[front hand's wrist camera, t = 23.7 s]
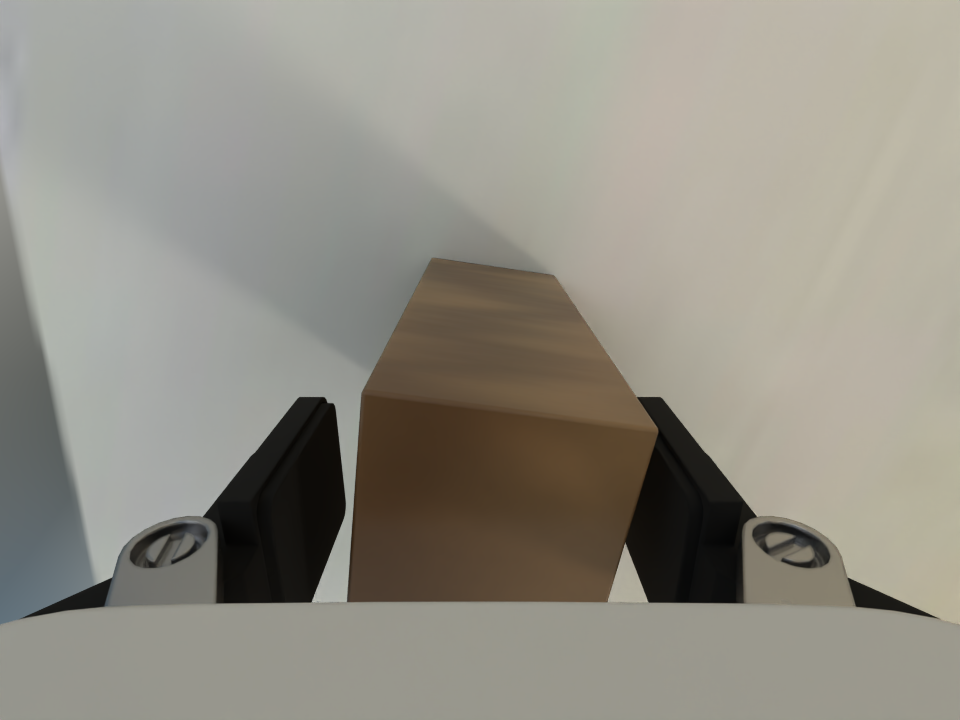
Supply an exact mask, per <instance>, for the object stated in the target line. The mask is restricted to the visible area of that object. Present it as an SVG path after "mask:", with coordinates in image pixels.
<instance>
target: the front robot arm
mask: <svg viewBox="0 0 960 720" xmlns="http://www.w3.org/2000/svg"><path fill="white" fill-rule="evenodd" d="M637 398H638V400H639V401H640V403H641V404H642V406H643V407H644V409H645V410H646V412H647V413H648V415H649V416H650V418H651V419H652V421H653V422H654V423H655V425H656V426H657V428H658V435H657V438H656V442H655V445H654V448H653V452H652V455H651V458H650V462H649V465H648V468H647V472H646V475H645V478H644V481H643V485H642V488H641V491H640V495H639V498H638V501H637V505H636V508H635V511H634V515H633V518H632V521H631V525H630V528H629V531H628V535H627V538H626V541H625V543H626V545H627V548H628V550H629V553H630V556H631V558H632V561H633V563H634V566H635V568H636V571H637V574H638V576H639V579H640V581H641V584H642V587H643V589H644V592H645V594H646V597H647V599H648V602H649V603H621V602H330V603H311V602H312V599H313V597H314V594H315V592H316V589H317V587H318V584H319V581H320V579H321V576H322V574H323V571H324V568H325V566H326V563H327V561H328V558H329V556H330V553H331V550H332V548H333V545H334V543H335V540H336V537H337V535H338V532H339V530H340V527H341V525H342V522H343V519H344V516H345V510H346V500H345V491H344V481H343V472H342V463H341V454H340V445H339V436H338V427H337V417H336V409H335V405H334V404H333V403H327V400H326V399H325V397H299V398H298V399H297V400H296V401H295V403H294V404H293V405H292V406H291V408H290V409H289V410H288V411H287V413H286V414H285V415H284V417H283V418H282V419H281V420H280V422H279V423H278V424H277V425H276V427H275V428H274V429H273V431H272V432H271V433H270V434H269V436H268V437H267V438H266V439H265V441H264V442H263V443H262V445H261V446H260V447H259V448H258V450H257V451H256V452H255V453H254V454H253V455H252V456H251V457H250V458H249V459H248V461H247V462H246V463H245V464H244V466H243V467H242V468H241V469H240V471H239V472H238V473H237V474H236V476H235V477H234V478H233V479H232V481H231V482H230V483H229V485H228V486H227V487H226V488H225V490H224V491H223V492H222V493H221V495H220V496H219V497H218V498H217V500H216V501H215V502H214V503H213V505H212V506H211V507H210V509H209V510H208V511H207V512H206V514H205V515H204V516H203V517H200V516H185V517H179V518H173V519H170V520H166V521H163V522H160V523H158V524H155V525H153V526H151V527H149V528H147V529H145V530H143V531H142V532H140V533H139V534H137V535H136V536H134V537H133V538H132V539H131V540H130V541H129V542H128V543H127V544H126V545H125V546H124V547H123V549H122V551H121V553H120V554H119V556H118V560H117V563H116V567H115V570H114V574H113V577H112V578H110V579H108V580H106V581H104V582H101V583H99V584H97V585H95V586H92V587H90V588H88V589H86V590H83V591H81V592H79V593H77V594H75V595H73V596H70V597H68V598H66V599H63V600H61V601H59V602H57V603H55V604H52V605H50V606H48V607H46V608H43V609H41V610H39V611H37V612H34V613H32V614H30V615H28V616H25V617H23V618H21V619H19V620H15V621H12V622H8V623H5V624H1V625H0V720H960V625H959V624H956V623H952V622H948V621H945V620H941V619H939V618H937V617H935V616H932V615H930V614H928V613H926V612H923V611H921V610H919V609H917V608H914V607H912V606H910V605H908V604H906V603H903V602H901V601H899V600H897V599H894V598H892V597H890V596H888V595H885V594H883V593H881V592H879V591H876V590H874V589H872V588H870V587H868V586H865V585H863V584H861V583H859V582H856V581H854V580H852V579H850V578H848V577H847V574H846V570H845V567H844V563H843V560H842V556H841V554H840V553H839V551H838V549H837V547H836V546H835V545H834V544H833V543H832V542H831V541H830V540H829V539H828V538H827V537H826V536H824V535H823V534H821V533H820V532H818V531H817V530H815V529H813V528H811V527H809V526H807V525H805V524H802V523H800V522H797V521H794V520H790V519H787V518H781V517H775V516H760V517H757V516H756V515H755V514H754V512H753V511H752V510H751V509H750V507H749V506H748V505H747V504H746V502H745V501H744V500H743V498H742V497H741V496H740V495H739V493H738V492H737V491H736V490H735V488H734V487H733V486H732V485H731V483H730V482H729V481H728V479H727V478H726V477H725V476H724V474H723V473H722V472H721V471H720V469H719V468H718V467H717V466H716V464H715V463H714V462H713V461H712V459H711V458H710V457H709V456H708V455H707V454H706V453H705V452H704V451H703V450H702V448H701V447H700V446H699V445H698V443H697V442H696V441H695V439H694V438H693V437H692V436H691V434H690V433H689V432H688V431H687V429H686V428H685V427H684V425H683V424H682V423H681V422H680V420H679V419H678V418H677V417H676V415H675V414H674V413H673V411H672V410H671V409H670V408H669V406H668V405H667V404H666V403H665V401H664V400H663V399H662V398H661V397H637Z"/></svg>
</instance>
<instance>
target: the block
mask: <svg viewBox="0 0 960 720" xmlns="http://www.w3.org/2000/svg"><path fill="white" fill-rule="evenodd" d="M657 435H658V428H657V426H656V425H655V423H654V422H653V421H652V419H651V418H650V416H649V415H648V413H647V412H646V410H645V409H644V407H643V406H642V404H641V403H640V401H639V400H638V398H637V397H636V395H635V394H634V392H633V391H632V390H631V388H630V387H629V385H628V384H627V382H626V381H625V379H624V378H623V376H622V375H621V373H620V372H619V370H618V369H617V367H616V366H615V364H614V363H613V362H612V360H611V359H610V357H609V356H608V354H607V353H606V351H605V350H604V348H603V347H602V345H601V344H600V342H599V341H598V339H597V338H596V336H595V335H594V333H593V332H592V331H591V329H590V328H589V326H588V325H587V323H586V322H585V320H584V319H583V317H582V316H581V314H580V313H579V311H578V310H577V308H576V307H575V305H574V304H573V303H572V301H571V300H570V298H569V297H568V295H567V294H566V292H565V291H564V289H563V288H562V286H561V285H560V283H559V282H558V280H557V279H556V277H555V276H554V275H548V274H541V273H534V272H527V271H521V270H514V269H507V268H500V267H493V266H486V265H479V264H472V263H465V262H459V261H452V260H445V259H438V258H432V259H431V261H430V263H429V265H428V266H427V268H426V270H425V272H424V274H423V276H422V278H421V280H420V282H419V284H418V286H417V288H416V289H415V291H414V293H413V295H412V297H411V299H410V301H409V303H408V305H407V307H406V309H405V311H404V312H403V314H402V316H401V318H400V320H399V322H398V324H397V326H396V328H395V330H394V332H393V334H392V335H391V337H390V339H389V341H388V343H387V345H386V347H385V349H384V351H383V353H382V355H381V357H380V358H379V360H378V362H377V364H376V366H375V368H374V370H373V372H372V374H371V376H370V378H369V380H368V381H367V383H366V385H365V387H364V389H363V391H362V393H361V408H360V422H359V436H358V451H357V465H356V479H355V494H354V508H353V522H352V537H351V551H350V565H349V580H348V594H347V602H607V601H608V598H609V594H610V591H611V588H612V584H613V581H614V578H615V574H616V571H617V568H618V564H619V561H620V558H621V554H622V551H623V548H624V545H625V541H626V538H627V535H628V531H629V528H630V525H631V521H632V518H633V515H634V511H635V508H636V505H637V501H638V498H639V495H640V491H641V488H642V485H643V481H644V478H645V475H646V472H647V468H648V465H649V462H650V458H651V455H652V452H653V448H654V445H655V442H656V438H657Z"/></svg>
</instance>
